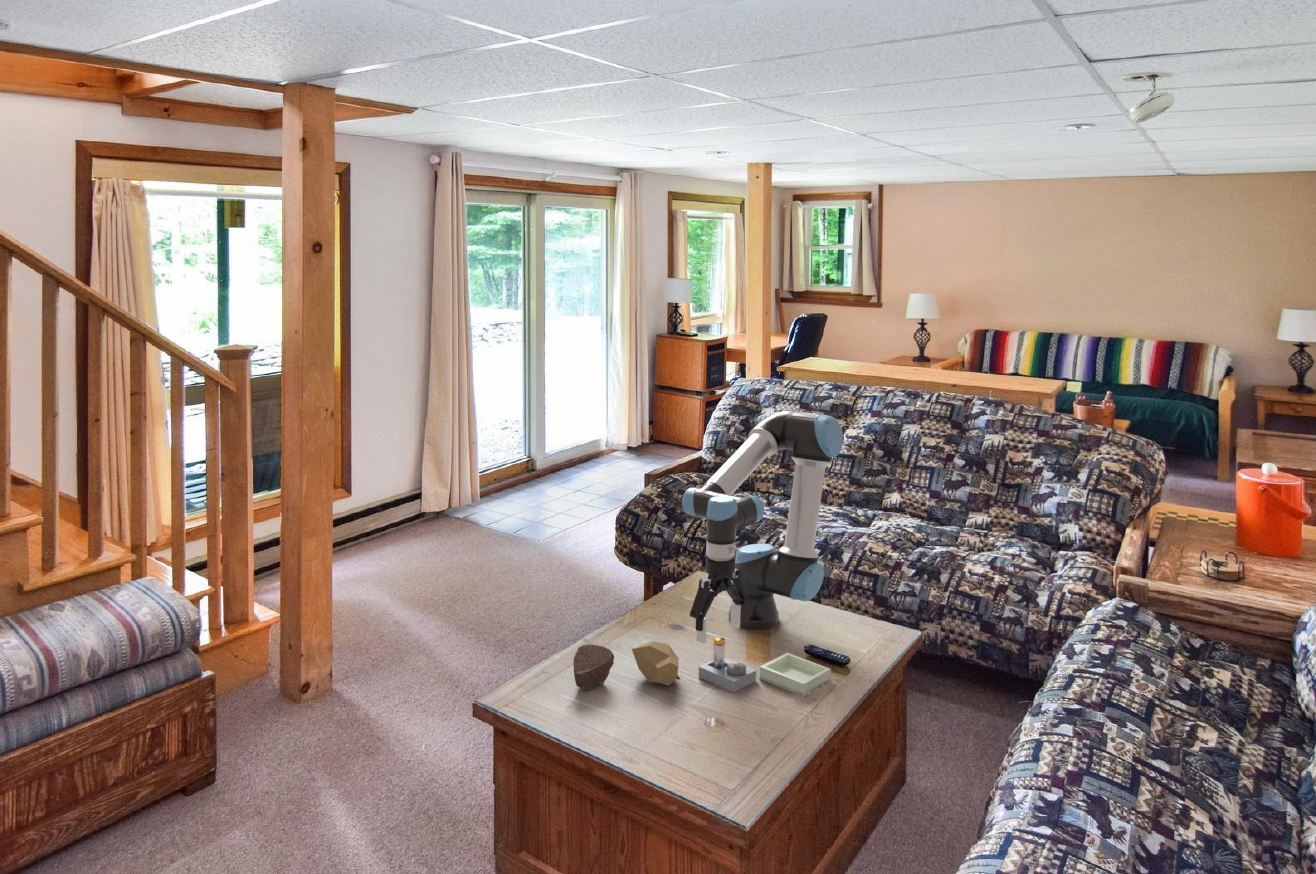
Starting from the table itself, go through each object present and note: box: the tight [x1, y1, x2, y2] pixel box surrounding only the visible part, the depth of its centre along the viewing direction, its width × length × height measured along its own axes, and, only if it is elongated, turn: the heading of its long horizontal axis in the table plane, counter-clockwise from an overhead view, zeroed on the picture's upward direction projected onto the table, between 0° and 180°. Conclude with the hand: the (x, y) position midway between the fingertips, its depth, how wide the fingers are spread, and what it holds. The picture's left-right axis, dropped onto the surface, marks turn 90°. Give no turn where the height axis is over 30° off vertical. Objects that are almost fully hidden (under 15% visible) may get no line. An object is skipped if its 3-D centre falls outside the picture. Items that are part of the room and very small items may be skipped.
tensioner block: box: [698, 657, 757, 693], centre depth 245 cm, size 12×9×6 cm
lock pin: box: [712, 636, 726, 670], centre depth 247 cm, size 3×3×10 cm
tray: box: [759, 652, 832, 697], centre depth 245 cm, size 14×12×4 cm
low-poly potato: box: [631, 641, 681, 686], centre depth 243 cm, size 15×11×12 cm
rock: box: [573, 644, 615, 692], centre depth 241 cm, size 12×10×10 cm
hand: (718, 634), depth 245 cm, fingers open, 13 cm apart
